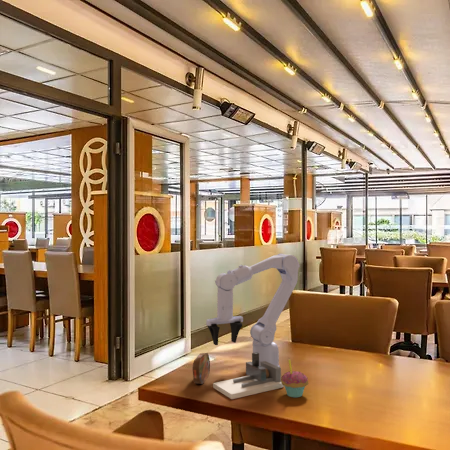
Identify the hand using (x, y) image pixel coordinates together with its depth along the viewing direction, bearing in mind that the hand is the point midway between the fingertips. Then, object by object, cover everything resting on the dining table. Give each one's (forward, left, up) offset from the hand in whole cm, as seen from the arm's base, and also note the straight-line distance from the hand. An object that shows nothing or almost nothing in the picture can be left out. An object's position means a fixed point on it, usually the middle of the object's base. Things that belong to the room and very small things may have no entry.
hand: (224, 343), depth 168 cm
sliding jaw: (-1, +18, -8) cm, 20 cm away
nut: (-4, +18, -7) cm, 20 cm away
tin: (+11, +3, -11) cm, 16 cm away
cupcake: (-7, +31, -11) cm, 34 cm away
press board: (+2, +18, -10) cm, 21 cm away
